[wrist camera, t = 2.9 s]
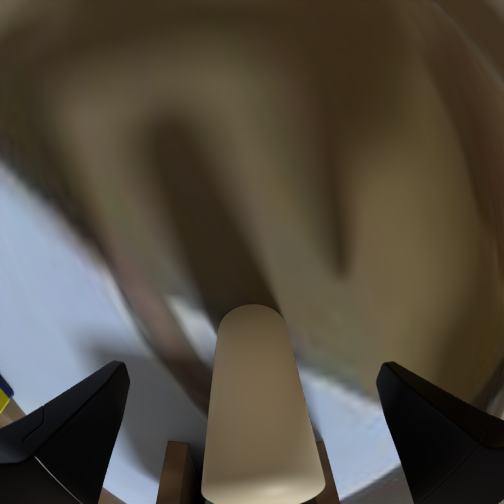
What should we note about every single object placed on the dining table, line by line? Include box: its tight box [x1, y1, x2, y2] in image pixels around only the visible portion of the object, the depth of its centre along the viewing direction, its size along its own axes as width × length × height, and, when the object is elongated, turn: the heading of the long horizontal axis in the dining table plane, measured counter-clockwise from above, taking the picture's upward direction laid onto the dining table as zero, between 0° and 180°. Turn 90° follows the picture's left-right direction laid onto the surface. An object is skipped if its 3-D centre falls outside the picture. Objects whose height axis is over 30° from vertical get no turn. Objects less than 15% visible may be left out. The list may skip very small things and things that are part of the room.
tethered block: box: [201, 304, 325, 504], centre depth 10 cm, size 5×18×7 cm, turn 178°
